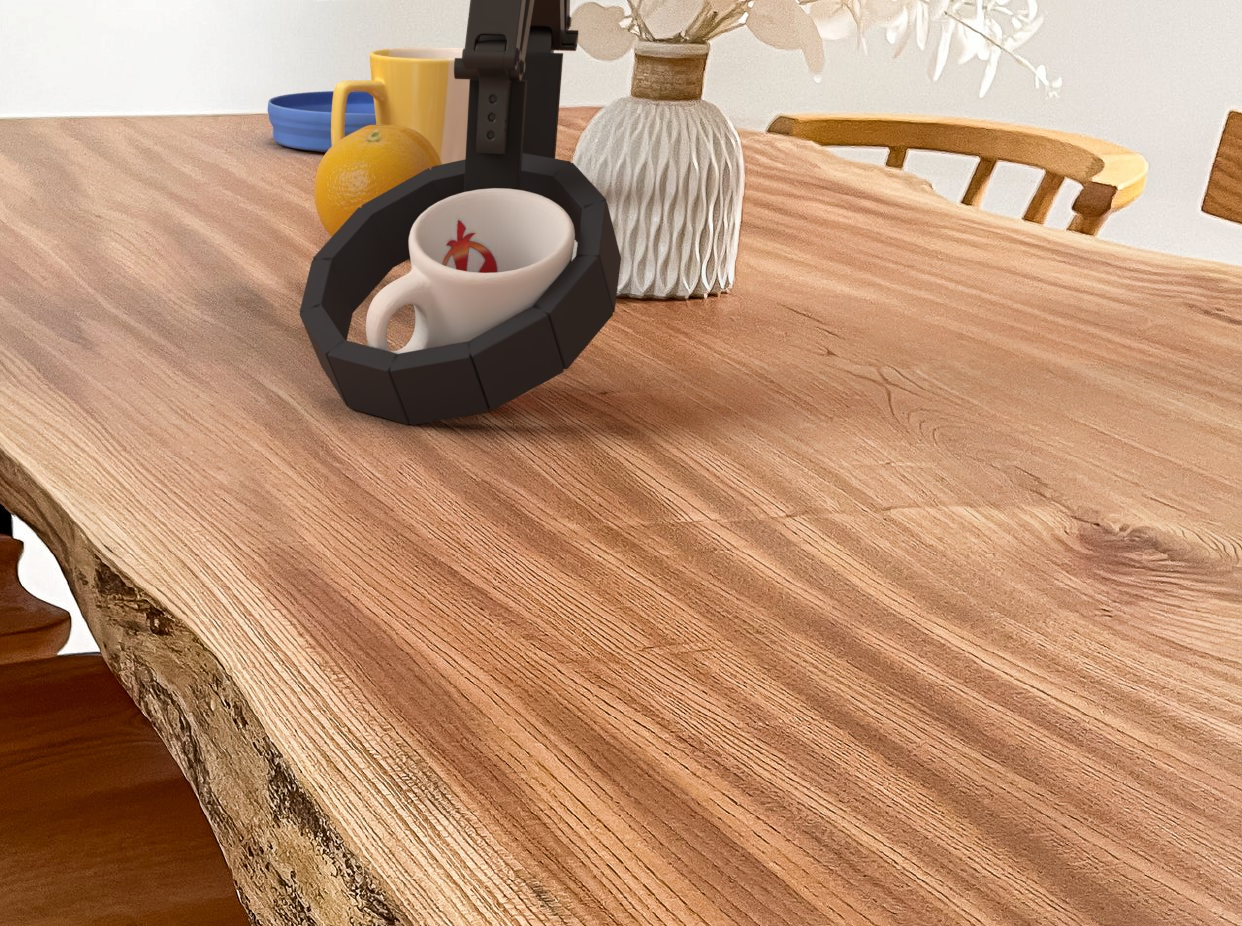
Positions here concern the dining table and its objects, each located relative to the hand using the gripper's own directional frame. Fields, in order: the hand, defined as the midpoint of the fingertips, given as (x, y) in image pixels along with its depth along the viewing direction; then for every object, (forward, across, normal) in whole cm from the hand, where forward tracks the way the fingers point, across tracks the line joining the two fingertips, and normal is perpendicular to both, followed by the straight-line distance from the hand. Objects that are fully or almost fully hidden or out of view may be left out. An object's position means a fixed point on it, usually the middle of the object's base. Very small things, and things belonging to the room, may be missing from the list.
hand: (510, 202), depth 103 cm
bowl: (+8, -79, -25) cm, 83 cm away
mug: (+8, -50, -15) cm, 53 cm away
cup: (+8, +9, 0) cm, 12 cm away
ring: (+4, +8, -1) cm, 9 cm away
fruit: (+8, -29, -13) cm, 33 cm away
